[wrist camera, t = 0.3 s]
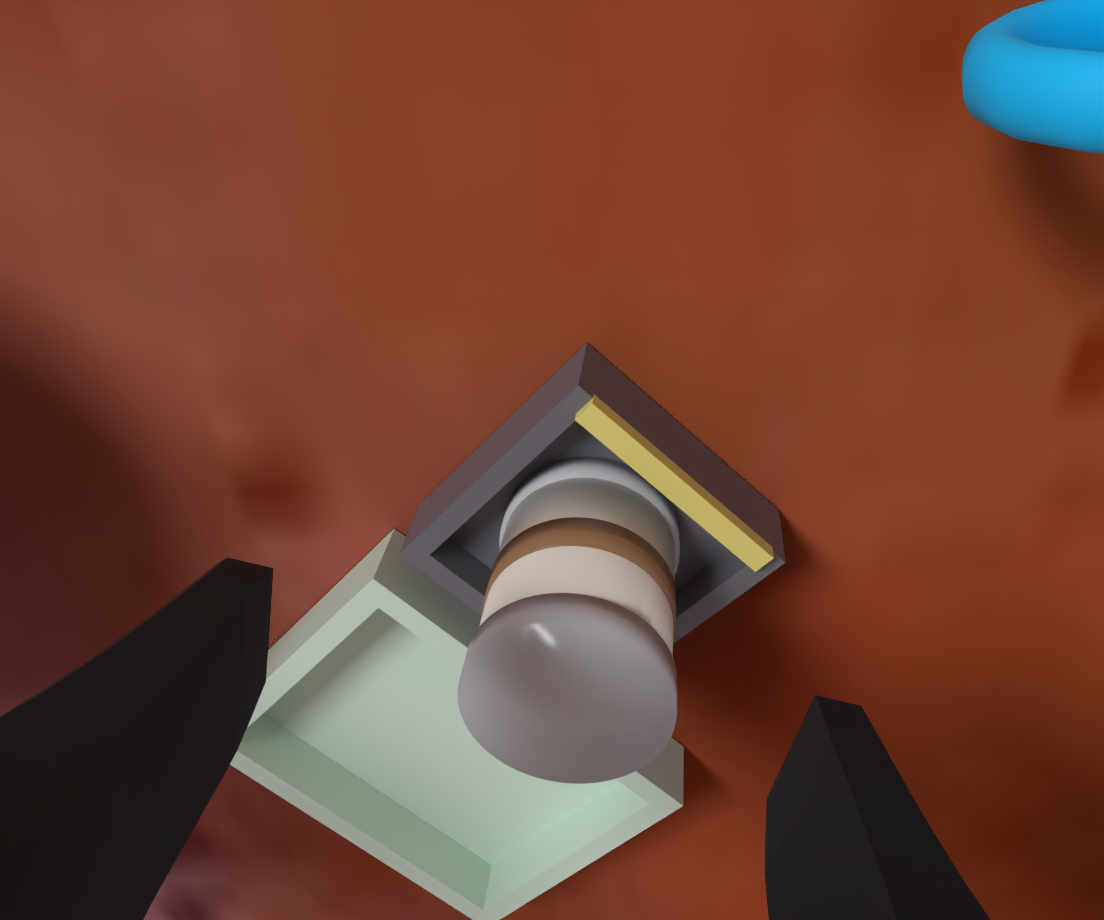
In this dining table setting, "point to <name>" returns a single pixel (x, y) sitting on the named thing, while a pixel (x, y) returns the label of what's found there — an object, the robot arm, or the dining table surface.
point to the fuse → (577, 626)
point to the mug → (1041, 74)
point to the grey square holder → (614, 433)
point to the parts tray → (425, 749)
